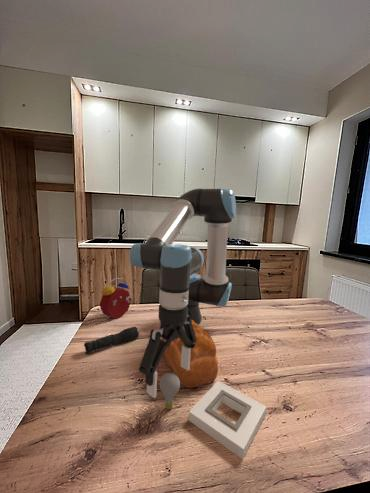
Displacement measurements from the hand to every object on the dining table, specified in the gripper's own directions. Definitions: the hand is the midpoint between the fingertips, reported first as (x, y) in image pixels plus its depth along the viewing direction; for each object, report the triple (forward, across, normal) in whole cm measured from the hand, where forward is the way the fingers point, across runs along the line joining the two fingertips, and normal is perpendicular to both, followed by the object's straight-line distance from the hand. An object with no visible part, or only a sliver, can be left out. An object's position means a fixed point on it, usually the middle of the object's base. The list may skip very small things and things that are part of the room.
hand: (169, 380), depth 63 cm
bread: (+9, +19, +9) cm, 23 cm away
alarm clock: (+8, +24, +56) cm, 62 cm away
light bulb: (+9, 0, 0) cm, 9 cm away
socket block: (+9, +8, -14) cm, 18 cm away
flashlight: (+9, +8, +37) cm, 39 cm away
